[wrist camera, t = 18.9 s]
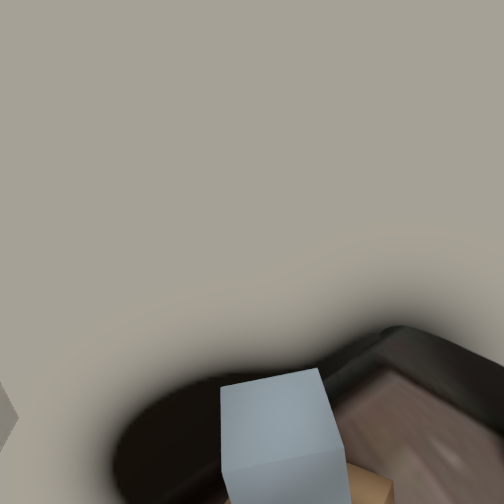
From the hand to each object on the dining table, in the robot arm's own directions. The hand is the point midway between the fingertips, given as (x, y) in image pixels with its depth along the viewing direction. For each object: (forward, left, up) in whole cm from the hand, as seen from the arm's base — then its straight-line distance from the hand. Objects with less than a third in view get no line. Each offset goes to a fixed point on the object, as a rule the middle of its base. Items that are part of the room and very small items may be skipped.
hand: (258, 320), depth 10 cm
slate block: (-11, -10, -28) cm, 32 cm away
